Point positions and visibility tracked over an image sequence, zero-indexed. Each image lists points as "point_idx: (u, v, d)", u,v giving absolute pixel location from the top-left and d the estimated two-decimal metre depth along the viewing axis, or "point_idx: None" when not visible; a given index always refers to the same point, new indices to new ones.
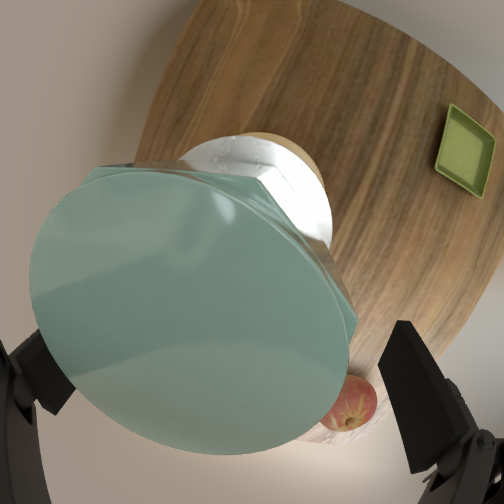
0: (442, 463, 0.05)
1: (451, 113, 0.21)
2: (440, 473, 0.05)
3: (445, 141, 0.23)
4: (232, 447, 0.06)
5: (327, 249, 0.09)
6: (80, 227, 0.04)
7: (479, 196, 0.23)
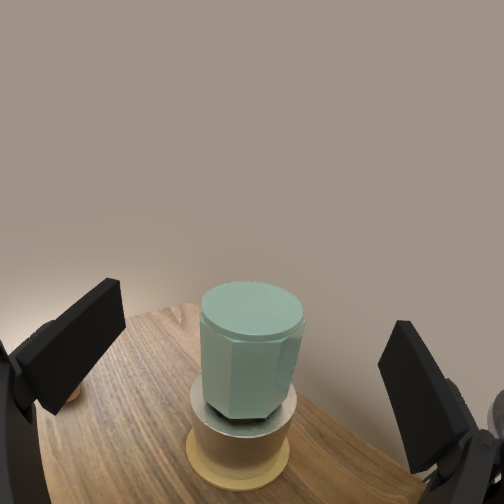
0: (442, 463, 0.05)
1: None
2: (439, 473, 0.05)
3: None
4: (209, 297, 0.21)
5: (233, 379, 0.19)
6: (294, 310, 0.20)
7: None
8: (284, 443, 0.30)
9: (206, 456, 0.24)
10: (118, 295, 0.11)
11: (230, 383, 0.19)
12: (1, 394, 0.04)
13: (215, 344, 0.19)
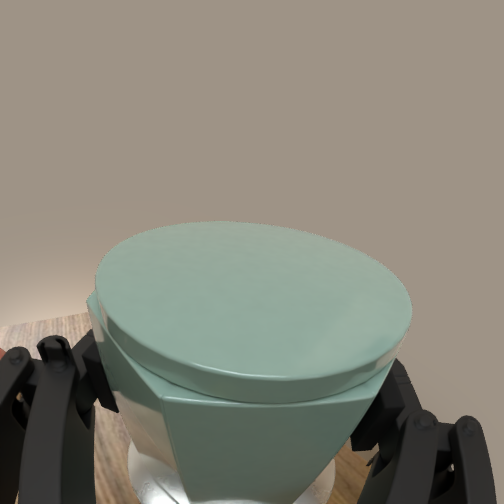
0: (381, 446, 0.06)
1: None
2: (381, 456, 0.06)
3: None
4: (137, 242, 0.07)
5: (191, 483, 0.05)
6: (382, 284, 0.06)
7: None
8: None
9: None
10: None
11: (184, 486, 0.05)
12: (62, 399, 0.05)
13: (122, 383, 0.05)
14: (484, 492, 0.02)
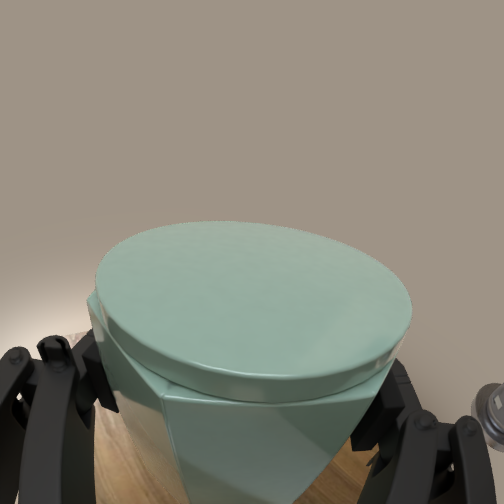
0: (381, 446, 0.06)
1: None
2: (381, 456, 0.06)
3: None
4: (137, 242, 0.07)
5: (191, 483, 0.05)
6: (382, 283, 0.06)
7: None
8: None
9: None
10: None
11: (184, 485, 0.05)
12: (62, 399, 0.05)
13: (123, 382, 0.05)
14: (483, 492, 0.02)
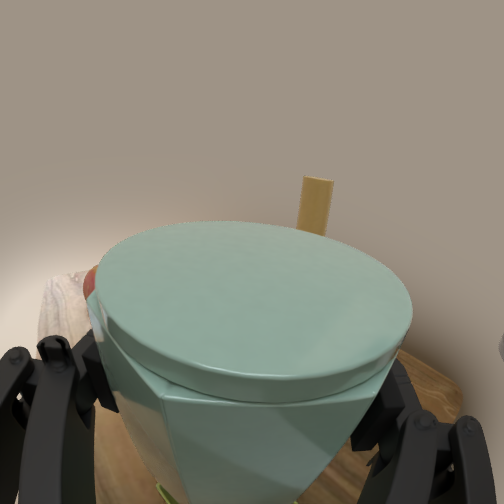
0: (381, 446, 0.06)
1: None
2: (381, 456, 0.06)
3: None
4: (137, 241, 0.07)
5: (191, 483, 0.05)
6: (383, 283, 0.06)
7: None
8: None
9: None
10: None
11: (184, 485, 0.05)
12: (62, 399, 0.05)
13: (122, 382, 0.05)
14: (483, 493, 0.02)
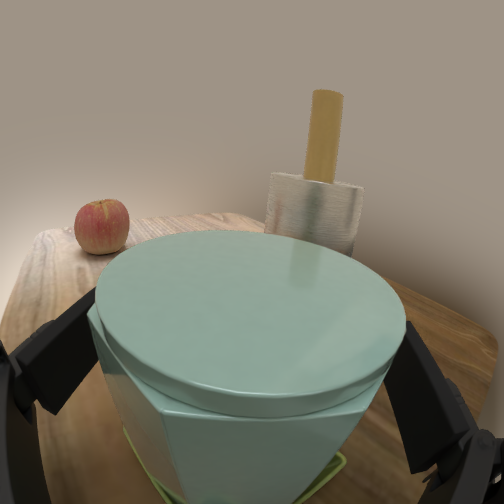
0: (442, 463, 0.05)
1: None
2: (439, 473, 0.05)
3: None
4: (136, 254, 0.07)
5: (190, 488, 0.05)
6: (378, 296, 0.06)
7: None
8: None
9: None
10: None
11: (183, 489, 0.05)
12: (1, 394, 0.04)
13: (124, 393, 0.05)
14: None
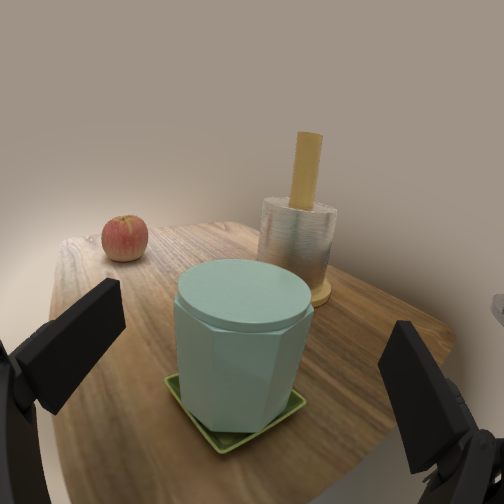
0: (442, 463, 0.05)
1: (290, 408, 0.19)
2: (440, 473, 0.05)
3: None
4: (189, 274, 0.16)
5: (215, 383, 0.14)
6: (299, 295, 0.15)
7: (170, 378, 0.20)
8: (325, 281, 0.44)
9: (270, 263, 0.38)
10: (118, 295, 0.11)
11: (211, 388, 0.14)
12: (1, 394, 0.04)
13: (191, 334, 0.14)
14: None
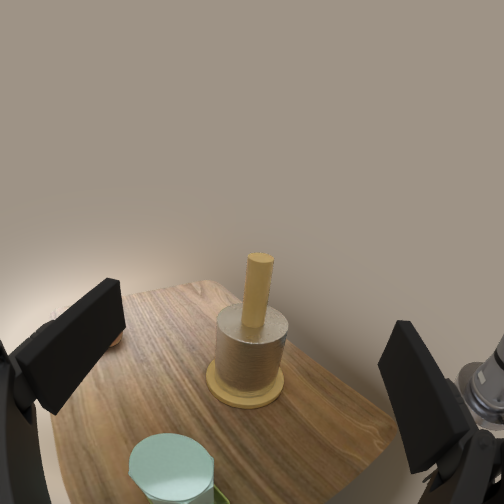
0: (442, 463, 0.05)
1: None
2: (440, 473, 0.05)
3: None
4: (136, 453, 0.18)
5: None
6: (203, 478, 0.17)
7: None
8: (280, 375, 0.46)
9: (223, 373, 0.40)
10: (118, 295, 0.11)
11: None
12: (1, 394, 0.04)
13: None
14: None
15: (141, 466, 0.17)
